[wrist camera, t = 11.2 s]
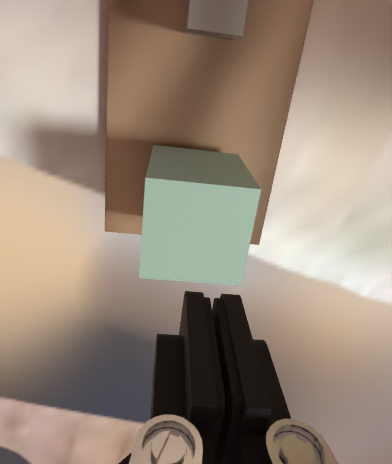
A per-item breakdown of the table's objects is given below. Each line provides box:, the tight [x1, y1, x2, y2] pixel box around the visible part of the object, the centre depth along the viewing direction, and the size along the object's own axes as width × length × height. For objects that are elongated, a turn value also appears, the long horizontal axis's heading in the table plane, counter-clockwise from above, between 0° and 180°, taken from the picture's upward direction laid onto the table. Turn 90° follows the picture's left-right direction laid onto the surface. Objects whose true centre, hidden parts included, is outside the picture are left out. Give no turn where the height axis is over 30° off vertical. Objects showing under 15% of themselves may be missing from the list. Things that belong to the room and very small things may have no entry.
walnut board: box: [105, 0, 313, 245], centre depth 20 cm, size 11×18×5 cm, turn 173°
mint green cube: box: [139, 145, 261, 285], centre depth 20 cm, size 5×5×7 cm
